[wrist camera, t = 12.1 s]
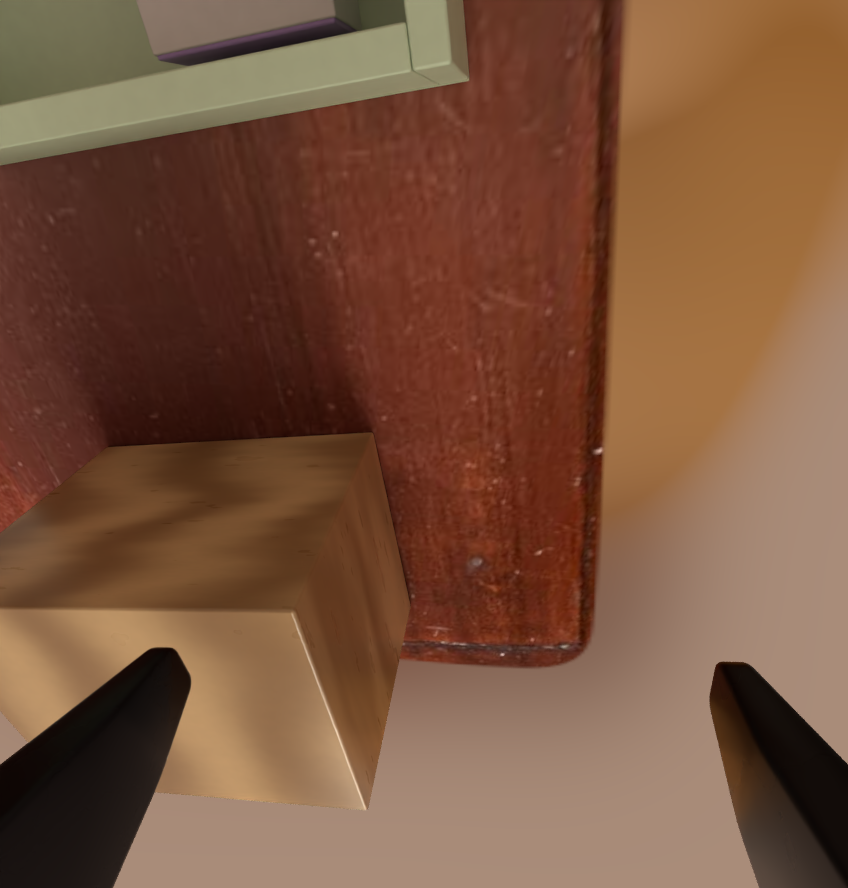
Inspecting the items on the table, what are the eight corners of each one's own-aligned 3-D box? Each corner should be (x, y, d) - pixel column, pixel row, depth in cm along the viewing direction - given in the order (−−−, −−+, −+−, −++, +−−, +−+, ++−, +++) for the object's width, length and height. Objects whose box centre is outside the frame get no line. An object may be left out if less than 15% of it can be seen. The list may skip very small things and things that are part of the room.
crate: (373, 431, 21) (293, 611, 13) (411, 605, 26) (368, 811, 18) (106, 446, 23) (-94, 606, 15) (186, 603, 28) (64, 785, 20)
